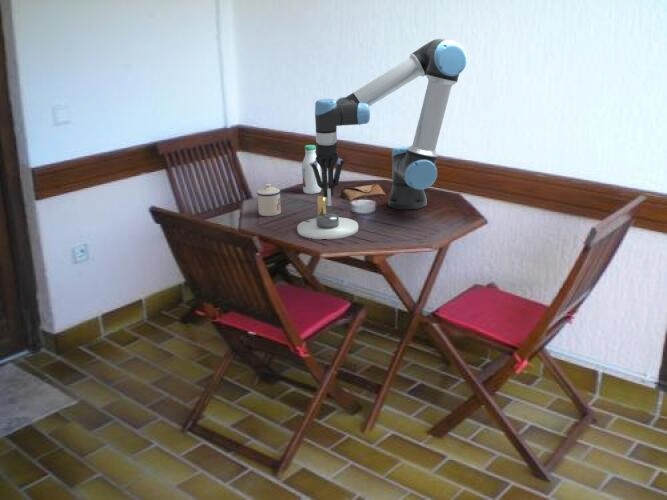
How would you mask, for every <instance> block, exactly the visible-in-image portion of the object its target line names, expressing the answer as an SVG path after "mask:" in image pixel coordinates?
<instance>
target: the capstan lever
mask: <svg viewBox="0 0 667 500" xmlns="http://www.w3.org/2000/svg"><path fill="white" fill-rule="evenodd" d="M316 197H317V199H316V200H317V215H316V216H315V218H316V223H317V226H318V227H321V228H332V227H336V226H338V225H339V214H336V213H328V212H327V205H326V197H325V196H323V195H317V196H316Z"/></svg>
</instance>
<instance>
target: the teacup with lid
mask: <svg viewBox="0 0 667 500" xmlns="http://www.w3.org/2000/svg"><path fill="white" fill-rule="evenodd" d="M256 195H257V204H258V206H257V207H258V214H259V216H262V217H274V216H279V215H280V214H281V213H282V207H281V190H280V189H279V188H277V187H275V186H271V183H266V184H265V186H264V187H262V188H260V189H258V190H257V191H256Z"/></svg>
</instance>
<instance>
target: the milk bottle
mask: <svg viewBox="0 0 667 500" xmlns="http://www.w3.org/2000/svg"><path fill="white" fill-rule="evenodd" d="M304 152H305V155H304V157H303V160H302V164H301V165H302V166H301V169H302V170H301V171H302V174H301V175H302V190H303V193H304V194H309V195H313V194H319V193H321V192H322V188H320V187H319V186H318V184H317V181H316V178H315V174H314V171H313V168H312V167H311V166H310V163H313V162H314V161H315V160H316V156H317V152H316V145H315V144H306V145H305V146H304ZM317 165H318V166H317V169H318V171H319V175H320V178H321V179H322V172H321V166H320V165H319V164H318V163H317Z"/></svg>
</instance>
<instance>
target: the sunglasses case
mask: <svg viewBox="0 0 667 500" xmlns="http://www.w3.org/2000/svg"><path fill="white" fill-rule="evenodd" d="M340 194H341V195H340V196H341V198H343V197H344V199H345V198H347V199H346V200H348V199H349V200H348V201H350V200H352V201H356V200H355V199H357V200H360V199H359V198H362V199H365V198H364V197H369V198H372V197H371V196H375V197H379V196H378V195H382V196H387V195H386V194H387V193H385V191H384V190H383V189H382V187H381V186H380V183H374V184H367V185H361V186H355V187H345V188H343V189H342V190H341V191H340Z"/></svg>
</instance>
